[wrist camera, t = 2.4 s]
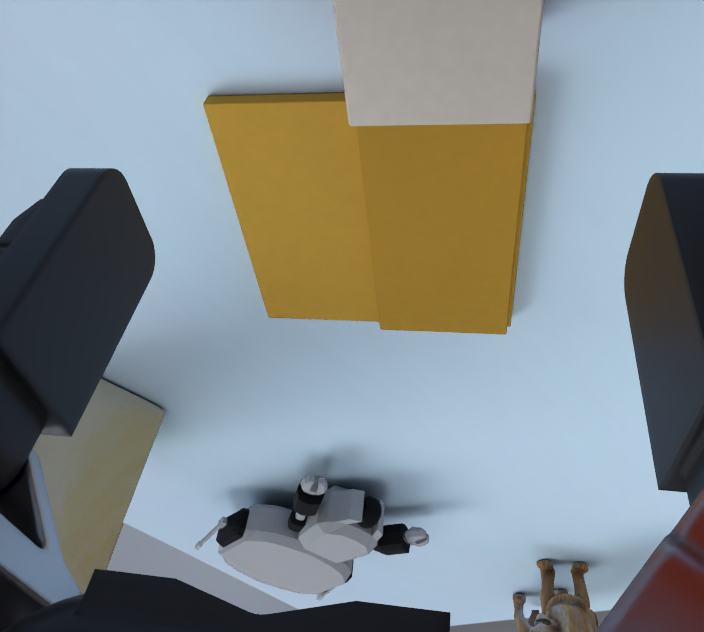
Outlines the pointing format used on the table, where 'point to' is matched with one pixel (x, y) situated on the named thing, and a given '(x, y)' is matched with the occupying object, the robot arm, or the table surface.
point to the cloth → (375, 212)
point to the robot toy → (310, 538)
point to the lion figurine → (558, 604)
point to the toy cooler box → (438, 60)
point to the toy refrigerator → (97, 475)
